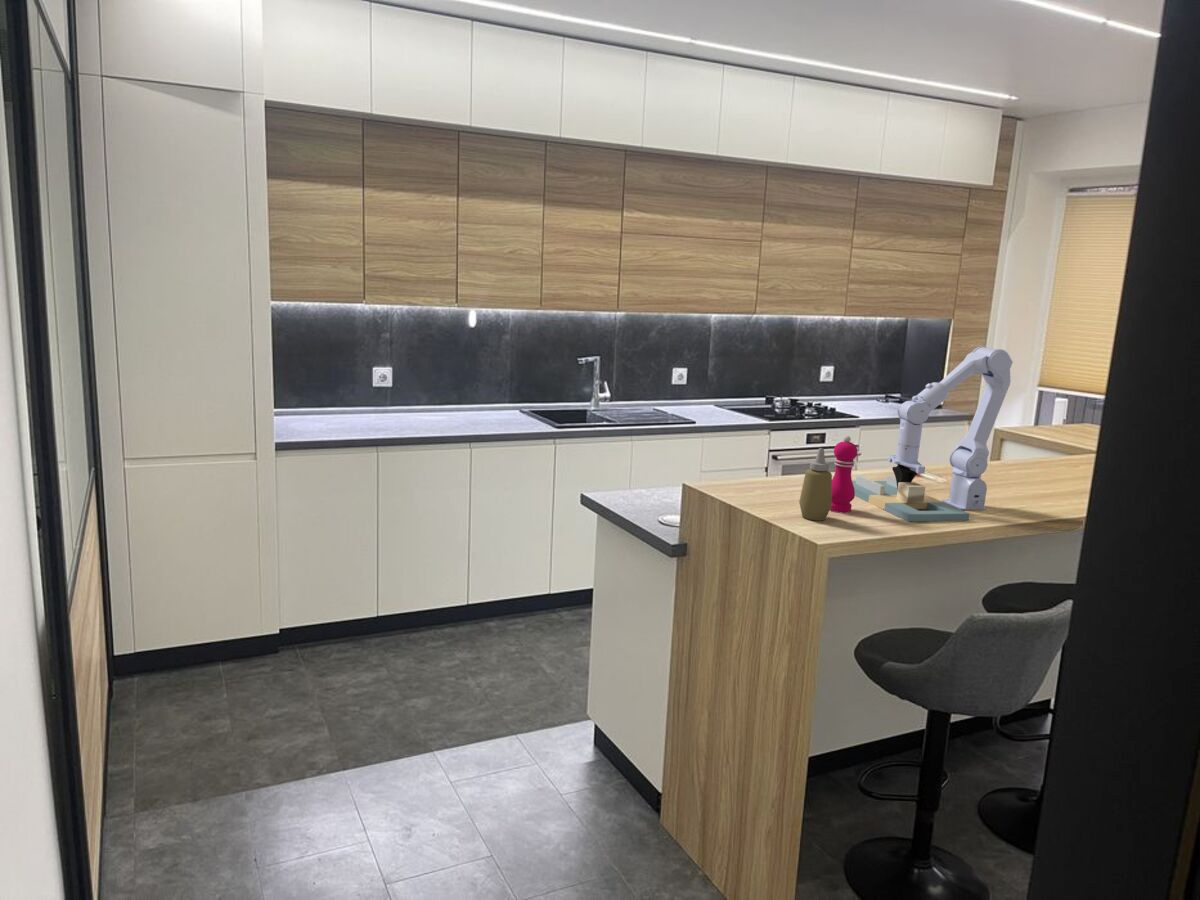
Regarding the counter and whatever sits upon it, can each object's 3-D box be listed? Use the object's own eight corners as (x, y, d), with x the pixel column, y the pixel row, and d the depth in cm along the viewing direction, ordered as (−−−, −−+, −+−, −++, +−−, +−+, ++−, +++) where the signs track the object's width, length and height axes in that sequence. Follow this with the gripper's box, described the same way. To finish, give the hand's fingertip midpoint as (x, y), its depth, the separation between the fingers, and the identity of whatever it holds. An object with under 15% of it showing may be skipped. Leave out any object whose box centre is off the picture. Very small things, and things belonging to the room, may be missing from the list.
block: (923, 502, 235) (925, 486, 234) (906, 503, 234) (909, 486, 233) (912, 498, 240) (914, 482, 239) (896, 498, 238) (898, 482, 237)
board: (968, 520, 227) (971, 504, 226) (907, 521, 223) (910, 505, 222) (893, 487, 260) (895, 472, 259) (839, 487, 256) (841, 472, 255)
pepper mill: (833, 513, 226) (842, 438, 222) (819, 506, 233) (828, 433, 229) (858, 513, 228) (867, 438, 224) (843, 505, 235) (852, 433, 231)
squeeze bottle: (791, 516, 221) (798, 447, 218) (808, 511, 227) (816, 444, 223) (819, 524, 216) (827, 453, 212) (836, 519, 221) (844, 450, 218)
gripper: (881, 439, 243) (875, 486, 246) (911, 450, 230) (904, 500, 232) (903, 439, 245) (897, 486, 248) (934, 450, 231) (927, 499, 234)
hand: (902, 493), depth 240 cm, fingers closed
